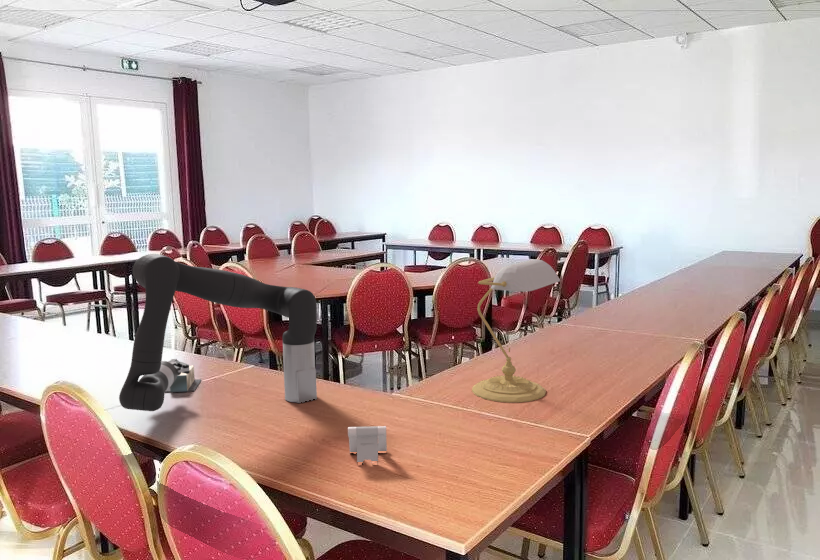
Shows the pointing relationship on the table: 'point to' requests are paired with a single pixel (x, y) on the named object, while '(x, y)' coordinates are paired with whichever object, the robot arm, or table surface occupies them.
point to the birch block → (183, 381)
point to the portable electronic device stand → (367, 441)
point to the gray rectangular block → (192, 387)
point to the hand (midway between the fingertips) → (174, 362)
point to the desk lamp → (516, 280)
